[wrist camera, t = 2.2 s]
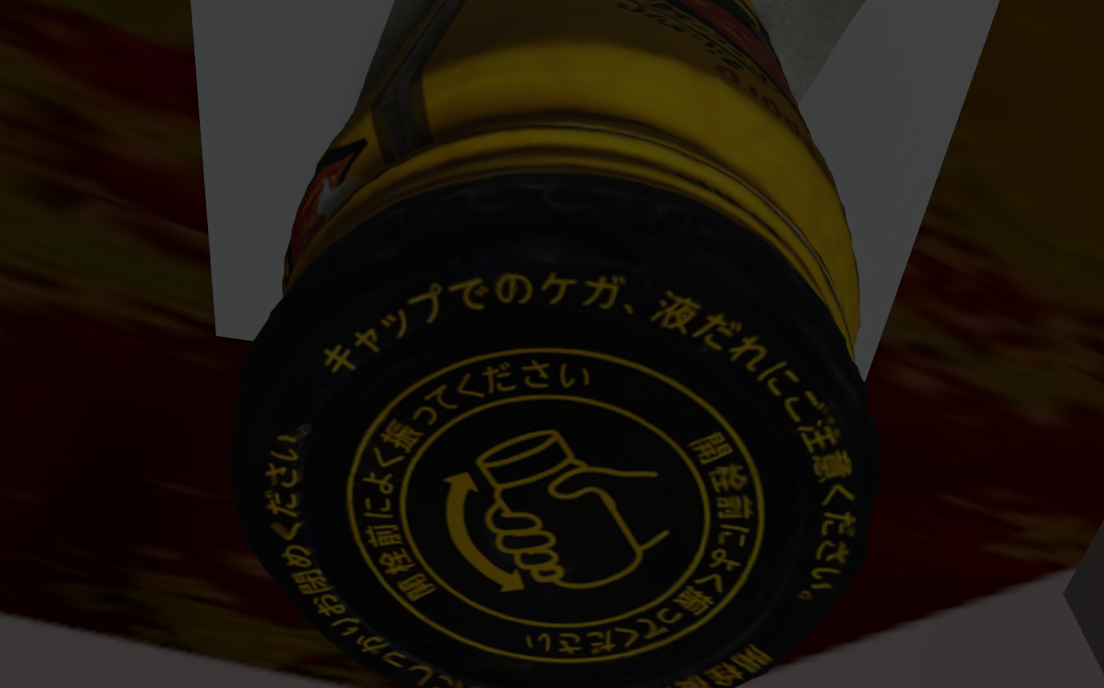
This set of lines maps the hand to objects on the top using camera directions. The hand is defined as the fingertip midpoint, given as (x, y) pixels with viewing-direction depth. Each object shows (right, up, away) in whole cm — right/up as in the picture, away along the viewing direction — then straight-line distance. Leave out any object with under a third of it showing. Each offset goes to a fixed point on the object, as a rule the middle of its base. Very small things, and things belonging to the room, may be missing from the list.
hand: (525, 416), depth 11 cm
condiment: (+1, +5, +8) cm, 9 cm away
